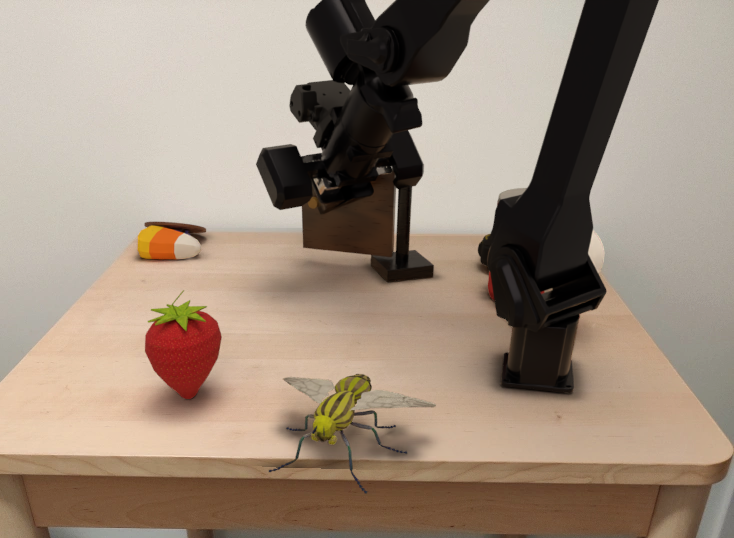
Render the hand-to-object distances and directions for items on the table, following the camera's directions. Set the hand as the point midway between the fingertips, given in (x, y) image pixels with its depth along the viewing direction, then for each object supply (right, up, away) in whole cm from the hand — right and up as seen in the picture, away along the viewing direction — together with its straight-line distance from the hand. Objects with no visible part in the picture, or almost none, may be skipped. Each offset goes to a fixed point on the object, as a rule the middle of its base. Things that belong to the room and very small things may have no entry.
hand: (320, 210), depth 90 cm
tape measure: (+23, -5, +5) cm, 24 cm away
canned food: (+23, -11, -4) cm, 26 cm away
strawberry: (-10, -26, -24) cm, 37 cm away
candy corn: (-23, -1, +6) cm, 24 cm away
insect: (+3, -31, -30) cm, 43 cm away
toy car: (-20, +2, +10) cm, 22 cm away
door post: (+10, -7, +3) cm, 12 cm away
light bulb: (+26, -17, -11) cm, 33 cm away
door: (+3, -4, +3) cm, 6 cm away
